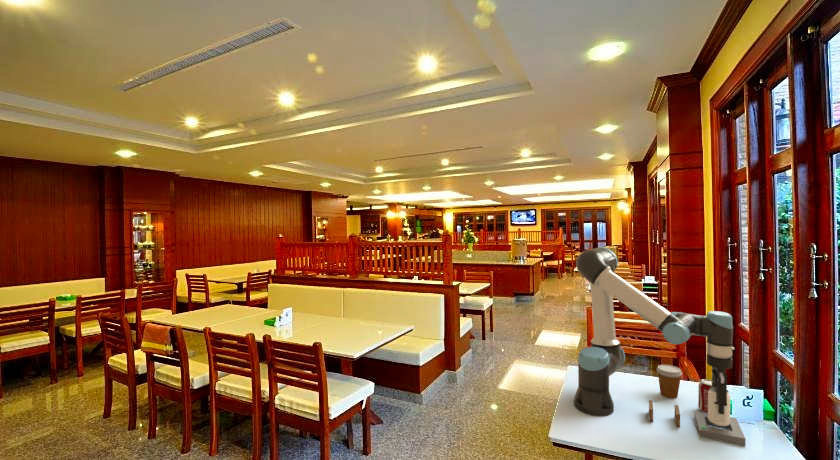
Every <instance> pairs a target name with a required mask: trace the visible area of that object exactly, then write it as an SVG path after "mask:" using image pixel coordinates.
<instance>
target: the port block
mask: <svg viewBox="0 0 840 460" xmlns="http://www.w3.org/2000/svg"><path fill="white" fill-rule="evenodd" d="M693 412H694V414H693V417H694V421H695V425H696V429H697V432H698V436H699V437H700V438H705V439H711V440H716V441H721V442H726V443H730V444H735V445H739V444H740V446H744V447H745V446H746V437H745V434H744V433H743V430H742V427H741V426H740V424H739V421H738V419H737V418H736V417H732V416H730V424H729V425H728V426H721V427H723V428H727V429H722V428H719V426H718V425H715V424H713V423H711V422H710V421H709V420H708V413H705V412H702V411H700V410H699V411H698V410H694V411H693ZM708 425H711V426H708ZM712 426H718V427H712Z"/></svg>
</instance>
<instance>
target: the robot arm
mask: <svg viewBox="0 0 840 460" xmlns="http://www.w3.org/2000/svg"><path fill="white" fill-rule="evenodd" d="M618 263H619V261H618V257H617V255H616V254H615V252H613V250H611V249H609V248H607V247H595V248H592V249H587V250H584V251H582V252H581V253H579V254H578V256H577V258H576V261H575V266H576V269H577V271H578V273H579V274H580V275H581V277H583V278H584V279H585V280H586V281H587V282H588V283H589V285H590V286H589V287H590V299H591V310H592V311H591V312H592V322H593V323H592V325H593V326H592V327H593V338H592V339H591V340H590V346H589V347H586V346H585V347H584V348H582V349H580V350H579V353H578V357H577V363H578V364H577V369H578V371H577V373H578V374H577V375H578V381H577V383H578V386H577V389H576V392H575V395H574V397H573V406H574V407H575V408H576V409H577V410H579V411H580V412H582V413H584V414H588V415H590V416H602V417H603V416H609V415H612V414H614V411H615V406H614V402H613V399H612V395H611V393H610V376H612V375H613V374H614V373H616V372H617V371H618V370H620V369H621V368H622V367H623V365H624V364H625V360H626V355H625V354H626V353H625V351H624V348H622V347H621V341H620V340H619V339H618V338H617V335H616V322H615V313H614V312H615V310H614V298H615V299H617V300H618V301H619V302H621V303H622V304H624V305H625V307H627V308H629V309H630V310H631V311H633V312H634V313H635V314H637V315H638V316H639V317H641V318H642V319H644V320H645V321H646V322H648V324H650V325H652V326H653V327H654V328H656V329H657V330H659V331H660V332H661V333H662V336H663V338H664V340H666V341H667V342H668V343H670V344H673V345H681V344H683V343H685V342H687V341H688V340H690V338H691V337H692V336H700V337H704V338H706V364H707V365H708V366H710V367H711V380H712V387H716V397H717V402H714V404H716V421H717V422H723V423H725V408H726V406H727V390H728V389H727V388H728V387H727V384H728V383H727V382H728V378H727V377H728V372H726V370H729V369H732V368H733V351H735V347H733V345H734V344H733V342H734V341H733V339H734V338H733V337H734V336H733V335H734V326H733V316H732V314H730V313H728V312H724V311H716V310H710V311H707V314H706V315H699V314H694V313H693V314H692V313H687V312H682V311H679V312H678V311H672V312H670V311H669V310H667V309H666V308H665V307H664V306H661V304H659V303H658V302H656V301H654V299H652V298H651V297H649V296H648V295H646V294H645V293H643V292H642V291H640V290H639V289H638V288H636V287H635V286H633V285H632V284H630V283H629V282H628V281H627V280H625V279H624V278H622V277H621V276H619V275H618V274H616V271H615V270H616V269H617V267H618V265H619V264H618ZM613 297H614V298H613Z"/></svg>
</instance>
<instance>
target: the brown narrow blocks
mask: <svg viewBox="0 0 840 460" xmlns="http://www.w3.org/2000/svg"><path fill="white" fill-rule="evenodd" d="M653 404H654V403H653V400H651V399H649V400H648V419H649V422H650V423H654V406H653ZM680 412H681V411H680V406H679V405H678V404H674V422H675V428H679V429H680V428H681V413H680Z"/></svg>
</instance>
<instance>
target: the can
mask: <svg viewBox="0 0 840 460" xmlns="http://www.w3.org/2000/svg"><path fill="white" fill-rule="evenodd" d="M714 402H717V397H716V387H710V390H709V391H708V420H709V421H710V422H711V423H713V424H715V425H714V426H717V425H718V427H722V426H728V425H729V424H730V417H731V396H730V394H729V390H728V389H727V406H726V408H725V423H723V422H717V421H716V404H714Z"/></svg>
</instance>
